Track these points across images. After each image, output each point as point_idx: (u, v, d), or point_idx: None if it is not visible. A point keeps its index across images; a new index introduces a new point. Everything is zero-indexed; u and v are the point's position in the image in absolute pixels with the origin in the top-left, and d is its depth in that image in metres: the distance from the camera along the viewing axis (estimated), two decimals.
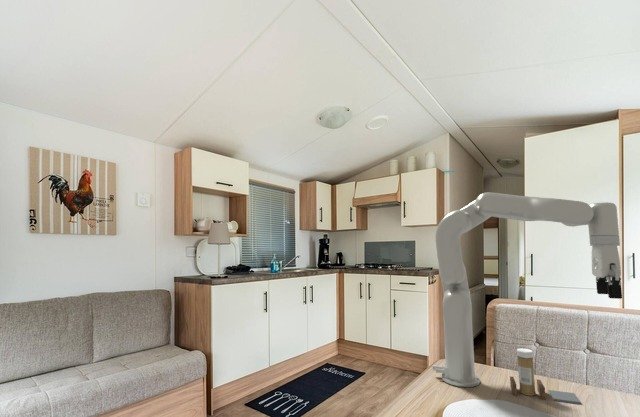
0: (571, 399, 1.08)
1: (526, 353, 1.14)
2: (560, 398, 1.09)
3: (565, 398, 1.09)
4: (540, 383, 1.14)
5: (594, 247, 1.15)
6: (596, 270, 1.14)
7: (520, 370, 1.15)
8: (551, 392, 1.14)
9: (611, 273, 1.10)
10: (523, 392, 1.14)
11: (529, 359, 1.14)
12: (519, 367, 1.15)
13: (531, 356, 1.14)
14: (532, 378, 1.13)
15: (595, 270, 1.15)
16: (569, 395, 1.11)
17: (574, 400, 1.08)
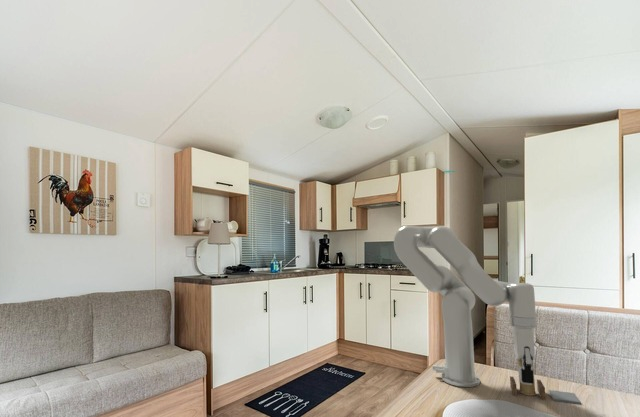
0: (571, 399, 1.08)
1: None
2: (560, 398, 1.09)
3: (565, 398, 1.09)
4: (540, 383, 1.14)
5: None
6: (515, 349, 1.17)
7: (520, 370, 1.15)
8: (551, 392, 1.14)
9: None
10: (523, 392, 1.14)
11: None
12: (519, 367, 1.15)
13: (531, 356, 1.14)
14: None
15: (514, 349, 1.18)
16: (569, 395, 1.11)
17: (574, 400, 1.08)
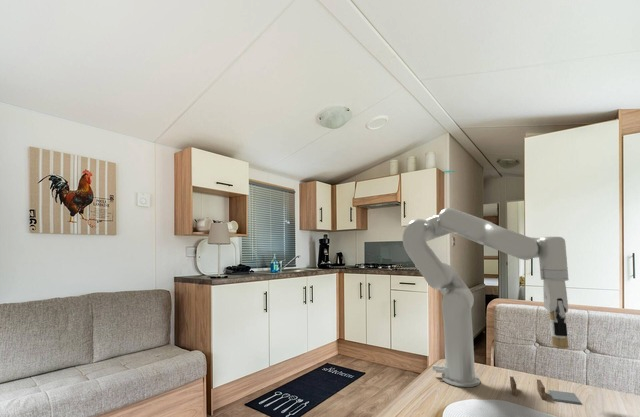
0: (571, 399, 1.08)
1: None
2: (560, 398, 1.09)
3: (565, 398, 1.09)
4: (540, 383, 1.14)
5: (544, 280, 1.16)
6: (546, 304, 1.15)
7: (552, 324, 1.13)
8: (551, 392, 1.14)
9: None
10: (556, 346, 1.11)
11: None
12: (551, 321, 1.13)
13: (564, 309, 1.12)
14: None
15: (545, 303, 1.15)
16: (569, 395, 1.11)
17: (574, 400, 1.08)
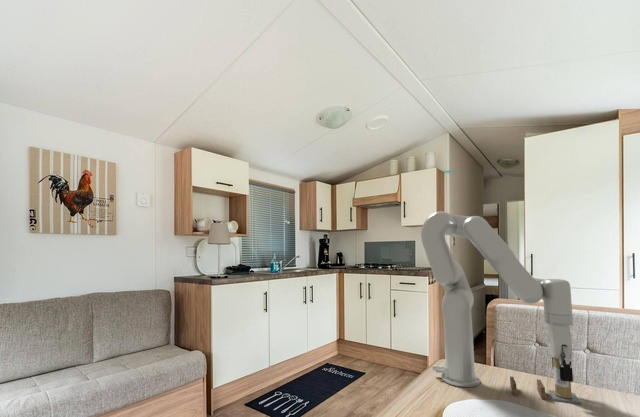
0: (571, 399, 1.08)
1: None
2: (560, 398, 1.09)
3: (565, 398, 1.09)
4: (540, 383, 1.14)
5: (548, 323, 1.15)
6: (550, 348, 1.13)
7: (556, 372, 1.11)
8: (551, 392, 1.14)
9: (563, 354, 1.09)
10: (559, 394, 1.10)
11: None
12: (555, 369, 1.12)
13: None
14: None
15: (549, 347, 1.14)
16: None
17: (574, 400, 1.08)
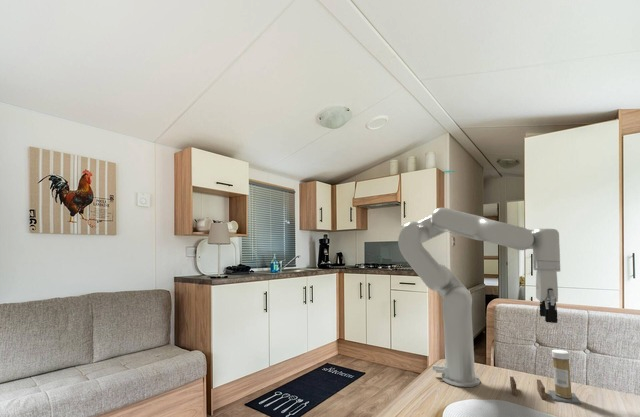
0: (571, 399, 1.08)
1: (562, 354, 1.10)
2: (560, 398, 1.09)
3: (565, 398, 1.09)
4: (540, 383, 1.14)
5: (537, 271, 1.19)
6: (537, 294, 1.18)
7: (556, 372, 1.11)
8: (551, 392, 1.14)
9: (549, 298, 1.14)
10: (559, 395, 1.10)
11: (566, 360, 1.10)
12: (554, 369, 1.12)
13: (567, 357, 1.10)
14: (569, 380, 1.10)
15: (537, 293, 1.19)
16: None
17: (574, 400, 1.08)
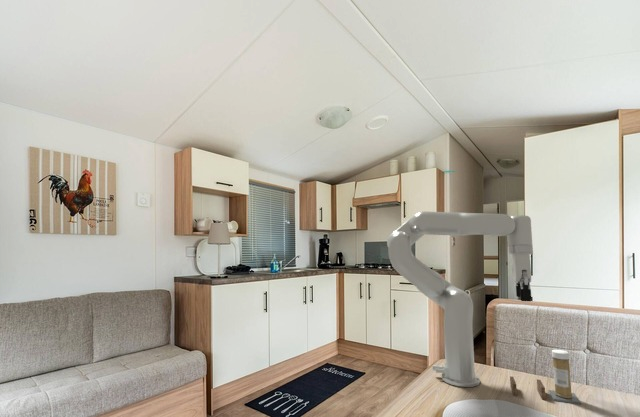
0: (571, 399, 1.08)
1: (562, 354, 1.10)
2: (560, 398, 1.09)
3: (565, 398, 1.09)
4: (540, 383, 1.14)
5: (512, 255, 1.29)
6: (513, 276, 1.27)
7: (556, 372, 1.11)
8: (551, 392, 1.14)
9: (524, 278, 1.24)
10: (559, 395, 1.10)
11: (566, 360, 1.10)
12: (554, 369, 1.12)
13: (567, 357, 1.10)
14: (569, 380, 1.10)
15: (513, 276, 1.28)
16: None
17: (574, 400, 1.08)
